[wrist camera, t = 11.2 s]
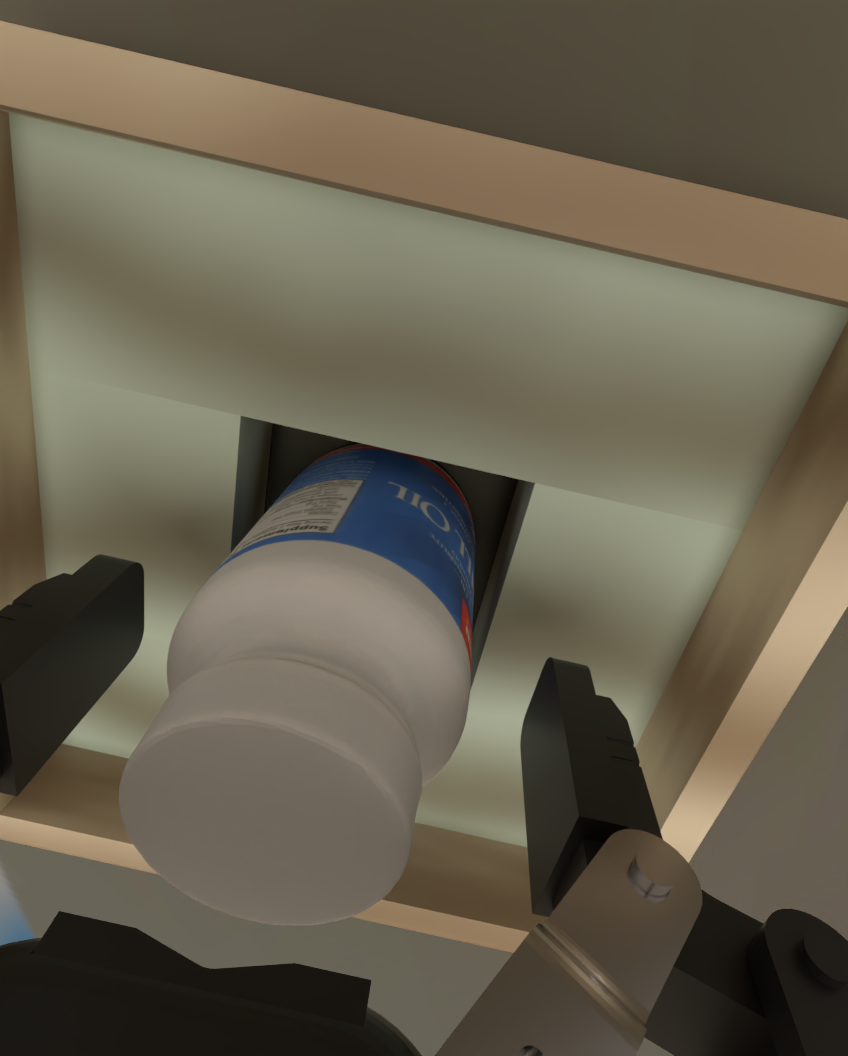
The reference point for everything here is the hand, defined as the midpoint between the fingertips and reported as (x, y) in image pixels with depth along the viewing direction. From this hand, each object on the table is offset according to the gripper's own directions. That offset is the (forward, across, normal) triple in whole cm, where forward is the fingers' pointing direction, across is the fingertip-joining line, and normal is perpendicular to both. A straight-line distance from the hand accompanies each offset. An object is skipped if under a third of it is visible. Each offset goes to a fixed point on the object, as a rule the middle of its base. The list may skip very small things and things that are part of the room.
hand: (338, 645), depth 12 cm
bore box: (+6, 0, 0) cm, 6 cm away
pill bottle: (+6, 0, 0) cm, 6 cm away
